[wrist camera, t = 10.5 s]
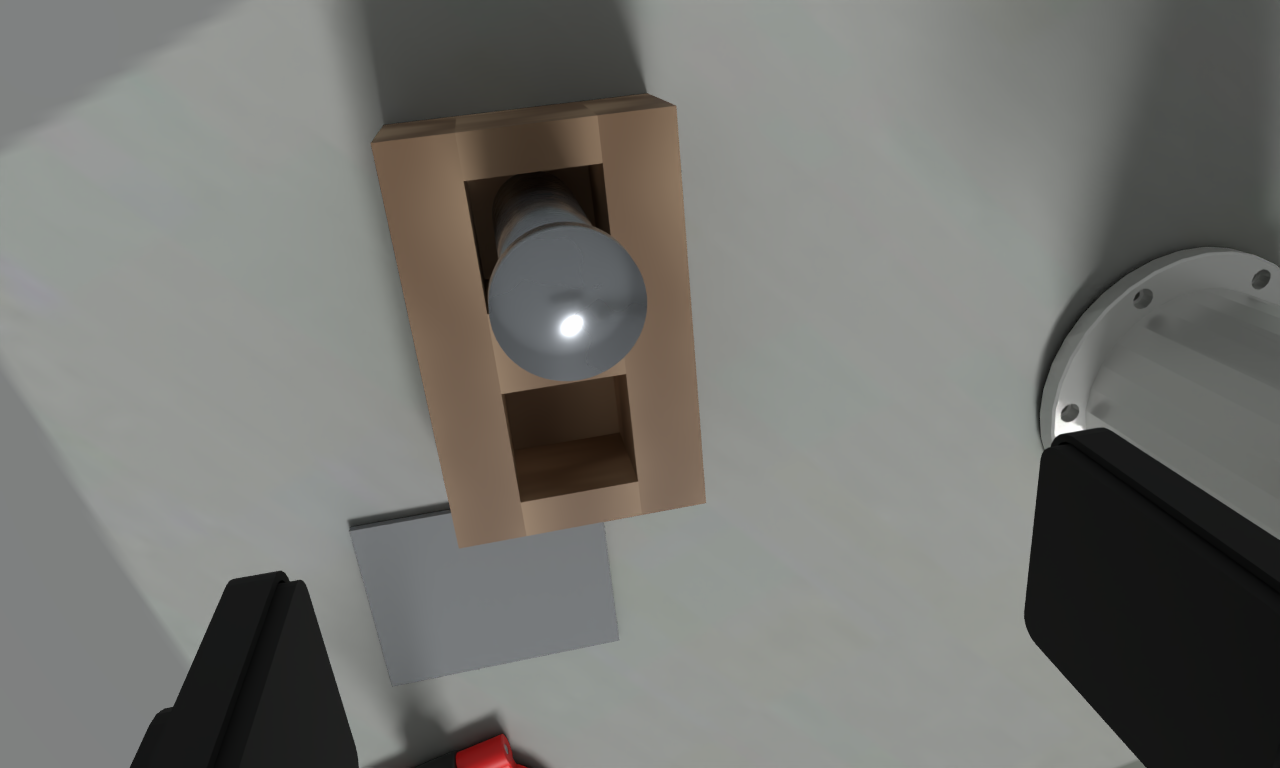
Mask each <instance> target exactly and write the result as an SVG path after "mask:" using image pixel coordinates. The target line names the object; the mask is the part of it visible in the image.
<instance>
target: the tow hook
mask: <svg viewBox="0 0 1280 768" xmlns="http://www.w3.org/2000/svg"><path fill="white" fill-rule="evenodd" d="M415 768H528V767H525V766H522V765H520V764H516V763H515V761H514V760H513V756H512V750H511V747H510V744H509V742H508V740H507V738H506V736H505V735H504V734H501V735H498V736H496V737H493V738H491V739H488V740H486V741H484V742H481V743H479V744H476V745H474V746H472V747H469V748H467V749H464V750H462V751H459V752H458V751H453V752H451V753H448V754H446V755H444V756H441V757H439V758H436V759H434V760H431V761H429V762H427V763H424V764H422V765H419V766H417V767H415Z"/></svg>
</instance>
